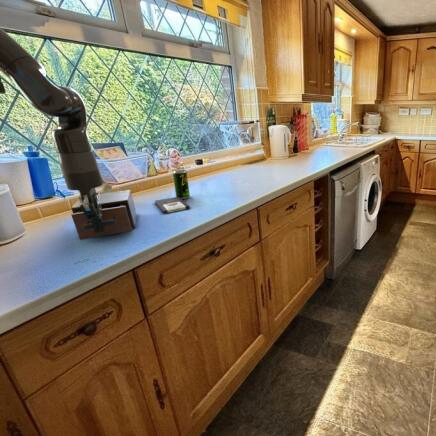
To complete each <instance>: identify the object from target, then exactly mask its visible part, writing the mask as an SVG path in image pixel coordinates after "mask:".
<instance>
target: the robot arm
mask: <svg viewBox="0 0 436 436" xmlns="http://www.w3.org/2000/svg"><path fill="white" fill-rule="evenodd" d="M0 72H1V73H2V74H3V75H5V77H7V78H8V79H9V80H10V81H12V82H13V84H14V85H15V87H16V88H17V90H18V91H19V92H20V94H22V96H23V97H24V98H25V99H26V101H27V102H28V103H29V104H30V105H31V106H32V107H33V108H35V109H36V110H37V111H38V112H40V113H42V114H43V115H46V116H48V117H52V118H56V124H57V126H56V127H55V128H54V129H52V131H51V134H50V135H51V139H52V142H53V145H54V147H55V150H56V154H57V158H58V165H59V167H60V170H61V173H62V176H63V179H64V182H65V185H66V187H67V189H68V190H69V191H78V192H79V196H77V197H78V199H79V201H80V203H81V204H82V205H80V208H81V210H82V211H83V213H84V214H85V216H86V218H87V219H88V220H91V222H92V225H93V228H94V231H95V233H99V232H104V230H105V227H104V224H103V220H102V218H101V217H102V214H101V213H102V212H103V211H102V206H101V201H100V195H99V194H100V192H99V191H97V190H96V188H100V187H102V186H104V182H103V178H102V175H101V172H100V168H99V164H98V162H97V158H96V156H95V154H94V151H93V149H92V145H91V142H90V139H89V136H88V119H87V118H88V117H87V107H86V104H85V102H84V100H83V98H82V96H81V95H80V94H79V93H78V92H77V91H76V90H75V89H73V88H72V87H69V86H64V85H63V86H62V85H55V84H54V83H52V82H51V81H50V80H49V79H48V78H47V77H46V69H45V68H44V66H43V65H42V63H40V62H39V61H38V60H37V59H36V58H35V57H34V56H33V55H32V54H31V53H30V52H28V50H26V48H24V47H23V46H22V45H21V44H20V43H19V42H17V40H15V39H14V38H13V37H12V36H11V35H10V34H8V33H7V32H6V31H5V30H4V29H2V27H0Z"/></svg>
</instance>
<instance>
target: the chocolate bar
mask: <svg viewBox="0 0 436 436" xmlns="http://www.w3.org/2000/svg"><path fill="white" fill-rule="evenodd" d="M154 202H155V203H154V204H156V205H157V207H158V208H159V209H160V210H161V212H162V213H163V214H168V213H172V212H178V211H183V210H188V209H190V205H189V204H188V203H187V202H185V201H184V199H181V198H180V197H176V196H175V197H168V198H162V199H157V200H155V201H154Z"/></svg>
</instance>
